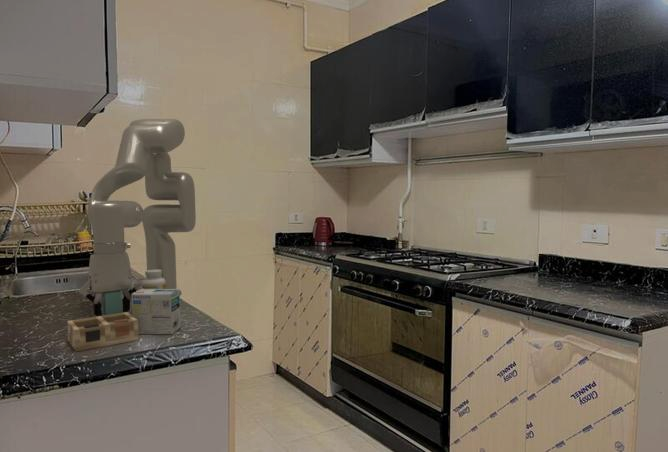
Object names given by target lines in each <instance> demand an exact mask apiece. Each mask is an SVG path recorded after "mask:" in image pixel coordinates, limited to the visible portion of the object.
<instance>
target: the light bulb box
mask: <svg viewBox="0 0 668 452" xmlns="http://www.w3.org/2000/svg"><path fill="white" fill-rule="evenodd" d="M179 290H180V288H177V289H142V288H141V289H138V290H137V291H136V292H135V293H132V294H131V299H130V300H131V315H132V316H133V317H134V318H136V319H137V320H138V335H174V334H175V333H176V332H177V331H178V330H179V329H180V328H182V319H181V318H182V316H181V315H182V314H181V295H180V291H181V290H180V291H179Z"/></svg>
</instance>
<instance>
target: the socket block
mask: <svg viewBox="0 0 668 452" xmlns="http://www.w3.org/2000/svg"><path fill="white" fill-rule="evenodd" d="M66 323H67V337H68V338H67V340H68V342H69V344H70V345H71V347H72V348H73V350H74V351H75V352H81V351H86V350H92V349H97V348H102V347H108V346H112V345H113V346H114V345H119V344H124V343H129V342H134V341H139V334H138V320H137V319H136V318H134V317H133V316H132V314H130V313H129V311H128V312H123V311H122V313H117V314H110V315H104V316H103V315H101V316H97V317H96V316H90V317H85V318H77V319H72V320H71V319H70V320H67V322H66Z"/></svg>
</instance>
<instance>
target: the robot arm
mask: <svg viewBox="0 0 668 452" xmlns="http://www.w3.org/2000/svg"><path fill="white" fill-rule="evenodd" d="M185 134H186V131H185V127H184V124H183V123H182V122H181V121H180V120H179V119H175V118H164V119H163V118H144V119H143V118H142V119H136V120H133V121H131V122H130V124H129V125H128V126H127V127H126V128H124V130H123V132H122V137H121V141H120V144H119V147H118V148H119V149H118V153H117V156H116V157H117V158H116V161H115V165H114V167H113V168H112V169H110V170H109V171H107V173H106V174H104V175H103V176H101V178H100V179H99V180H98V181H97V182H96V183H95V184H94V186H93V188H92V191H91V193H90V197H89V201H88V205H87V219H88V222H89V223H90V225H92V234H93V235H92V237H93V240H92V241H93V254H90V255H89V256H90V257H89V264H88V279H87V281H86V282H85V283H84V284H83V285H82V286H81V287H80V288H79V290H78V292H79V294H81V295H82V296H84V297H85V298H86V299H88V300H89V301H90V302H92V304H93V307H92V308H93V315H94V316H95V317H97V316H102V303H100V300H101V298H102V293H105V292H113V291H121V294H122V295H123V298H121V299H122V313H123V312H128V313H129V311H130V310H131V300H132V299H131V294H132V293H135V292H137V291H139V290H140V288H141V287H142V282H140V281H139V280H138V279H137V278H135V277H134V276H133V275H132V269H131V262H130V258H129V254H128V253H129V252H126V251H127V250H128V249H131V243H129V242H126V241H125V229H126V228H135V227H138V226H139V225H140V224H141V223H142V227H143V232H144V238H145V254H146V255H145V257H146V261H145V262H146V271H147V270H154V269H158V270H162V275H161V277H162V278H164V279H165V281H166V289H178V288H177V285H178V284H177V265H176V264H177V261H176V260H177V255H176V244H175V241H174V239H173V237H172V236H170V234H169V233H189V232H191V231H193V230H195V226H196V222H197V221H196V216H197V215H196V190H195V182H194V179H193V177H192V175H190V173H187V172H183V171H182V172H181V171H179V172H178V171H177V172H173V170H172V160H171V159H172V158H171V156H170V152H173V150H175V149H177V148H178V147H179V146H181V145H182V144H183V142H184V139H185ZM143 178H144V185H145V193H146V197H147V198H148V199H149V200H153V201H177V202H178V203H179V204H170V203H169V204H166V203H165V204H151V205H148V206H146V207H145V208H144V209H143V207H142V205H141V204H140V203H138V202H136V201H133V200H109V199H110V197H111V195H112V194H114V193H115V192H117V191H118V190H120V189H122V188H124V187H126V186H128V185H132V184H133V183H134V184H135V182H136V183H137V182H138V181H140V180H142V179H143ZM88 289H89V290H91V291H92V292H93V295H92V294H91V293H89V292H88ZM179 291H180V296H181V295H182V290H180V289H179Z"/></svg>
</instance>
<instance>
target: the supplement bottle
mask: <svg viewBox="0 0 668 452" xmlns="http://www.w3.org/2000/svg"><path fill="white" fill-rule="evenodd" d="M144 275H145V279H143V280H142V282H141V284H142V285H141V289H166V281H165V279H164V278H162V277H161V275H162V270H158V269H154V270H147V269H146V270H145V271H144Z"/></svg>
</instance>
